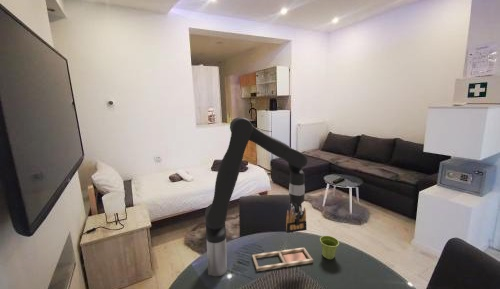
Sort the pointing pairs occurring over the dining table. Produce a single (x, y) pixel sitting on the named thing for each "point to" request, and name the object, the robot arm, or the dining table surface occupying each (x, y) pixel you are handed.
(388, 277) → the dining table surface
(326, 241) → the plant pot
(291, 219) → the ammunition clip
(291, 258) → the wooden double frame
